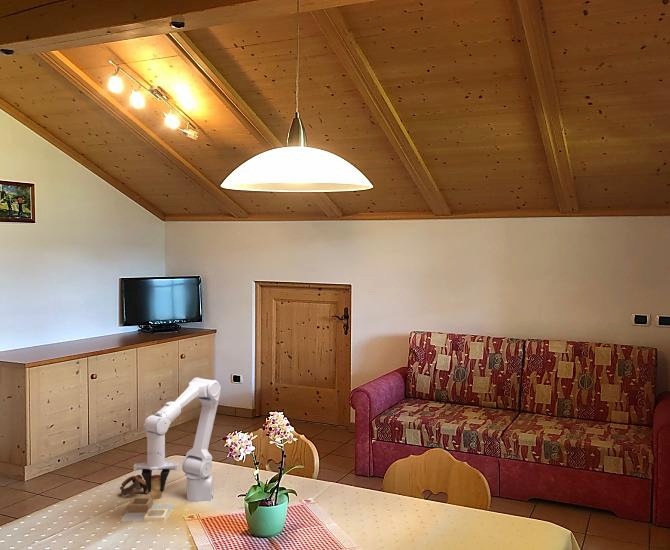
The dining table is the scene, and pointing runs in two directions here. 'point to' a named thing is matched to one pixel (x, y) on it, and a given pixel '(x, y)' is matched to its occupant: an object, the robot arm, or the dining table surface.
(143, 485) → the brown curved piece
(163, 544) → the dining table surface
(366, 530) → the dining table surface
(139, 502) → the mount
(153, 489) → the pin
